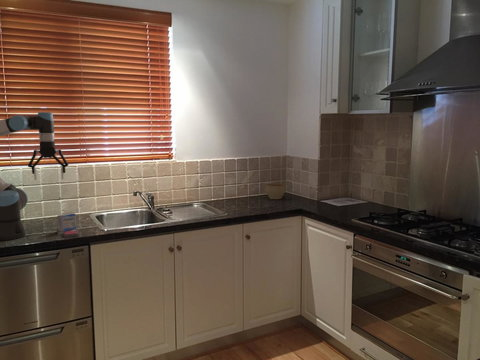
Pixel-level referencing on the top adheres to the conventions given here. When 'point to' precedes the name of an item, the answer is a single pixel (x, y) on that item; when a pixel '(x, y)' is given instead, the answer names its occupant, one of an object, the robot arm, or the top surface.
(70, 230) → the paper card
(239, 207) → the top surface
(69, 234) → the ink pad
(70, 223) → the medicine box
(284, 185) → the planter bowl
